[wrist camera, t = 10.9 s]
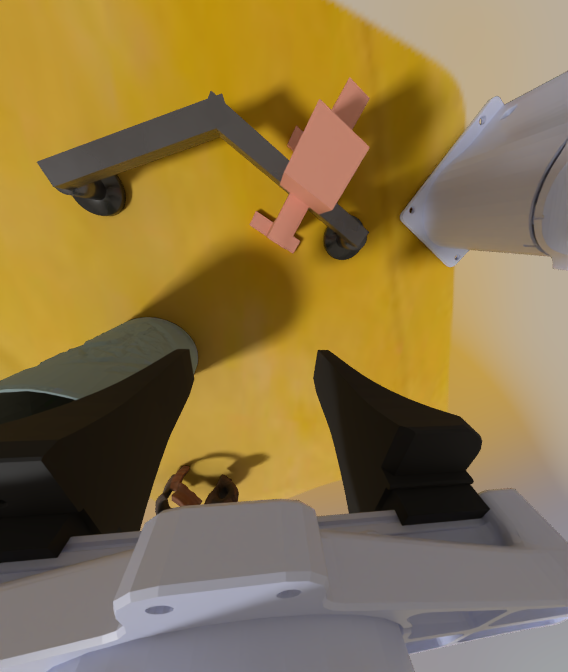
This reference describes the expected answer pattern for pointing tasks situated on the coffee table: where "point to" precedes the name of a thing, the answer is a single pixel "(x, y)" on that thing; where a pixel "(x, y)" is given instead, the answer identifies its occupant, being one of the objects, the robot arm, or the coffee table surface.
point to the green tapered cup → (91, 367)
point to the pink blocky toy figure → (318, 165)
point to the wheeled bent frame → (171, 137)
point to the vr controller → (185, 497)
